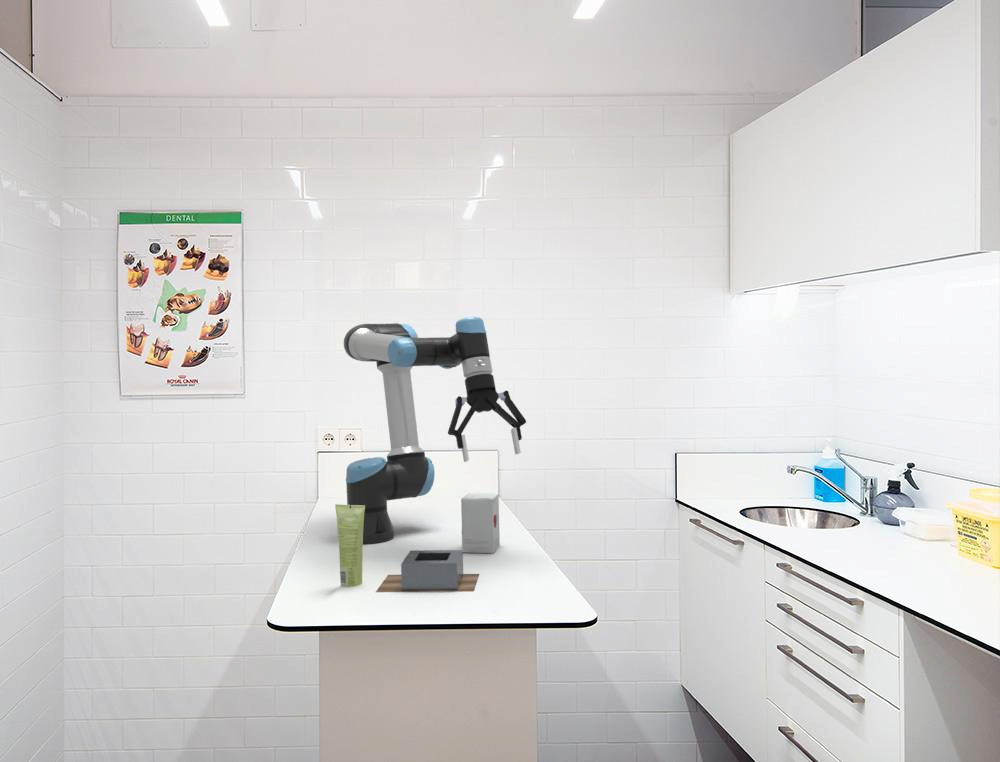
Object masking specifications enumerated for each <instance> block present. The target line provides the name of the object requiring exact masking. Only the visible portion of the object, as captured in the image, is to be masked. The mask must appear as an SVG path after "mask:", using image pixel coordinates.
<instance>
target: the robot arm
mask: <svg viewBox="0 0 1000 762" xmlns="http://www.w3.org/2000/svg"><path fill="white" fill-rule="evenodd" d="M485 327H486V326H485V323H484V320H483V318H481V317H480V316H468V317H464V318H463V317H462V318H461V319H458V320H456V323H455V334H453V335H451V336H450V337H449V336H448V337H444V336H442V337H419V336H418V333H417V332H416V330H415V329H414V328H413V326H411V325H409V324H405V323H397V322H396V323H363V324H357V325H355V326H353V327H352V328H350V329H349V330H348V331H347V332H346V333H345V336H344V339H343V348H344V349H343V350H345V353H346V354H347V356H349V357H350V358H351V359H352V360H356V361H359V362H369V363H370V362H376V369H377V370H378V371H379V372H381V374H382V379H383V380H382V382H383V389H384V398H385V399H384V400H385V408H386V417H387V423H388V424H387V425H388V434H389V443H390V451H389V452H388V453H387V455H386V458H385V457H380V456H379V457H378V456H376V457H368V458H363V459H359V460H356V461H353V462H351V463H349V464H348V465H347V467H346V476H345V484H346V505H365V512H364V526H363V545H366V544H376V543H377V544H378V543H383V542H387V541H390V540H392V539H393V538H395V530H394V526H393V524H392V523H393V522H392V520H391V517H390V515H389V513H388V501H395V500H401V499H410V498H417V497H421V496H422V497H423V496H426V495H427V494H429V492H430V491H431V490H432V487H433V486H434V481H435V466H434V463H433V460H432V459H431V458H430V457H427V456H426V453H425V450H424V449H422V448H421V446H420V445H419V443H420V442H419V436H418V435H419V434H418V426H417V417H416V408H415V401H414V392H413V383H412V374H411V370H412V369H413V367H429V366H430V367H434V366H437V367H441V368H443V369H445V370H449V369H453V368H456V367H458V366H460V365H461V366H462V372H463V377H464V378H465V379H464V384H465V389H466V390H465V391H466V397H464V396H460V395H459V396H457V398H455V408H454V412H453V415H452V418H451V421H450V423H449V424H450V425H449V428H448V431H447V434H448V435H449V436H455V439H456V446H457V449H458V450H460V449H461V452H462V457H463V459H462V460H463V462H464V463H465V462H466V463H467V462H469V461H470V459H469V454H468V453H469V452H468V447H467V441H466V435H465V434H462V433H463V432H464V430H465V429H466V427H467V425H468V424H469V422H470V420H471V418H472V417H473V416H474V413H475V412H476V413H478V414H479V413H480V414H481V413H483V412H491V411H493V412H494V413H496V414H498V415H499V417H500V418H502V419H503V420H504V421H505V422H506V423H507V424H508V425H510V426H511V427H512V428H511V429H510V431H511V432H510V433H511V438H512V444H513V450H514V455H519V454H521V453H522V451H521V446H520V441H521V440H522V437H523V436H522V431H521V427H522V426H524V425H525V424H527V420H526V419H525V416H524V415H523V414H522V412H521V411H520V410H519V409H518V407H517V406H516V404H515V403H514V401H513V400H512V399H511V396H510V393H509V390H504V391H502V392H497V390H496V383H495V377H494V375H493V374H492V373H493V368H492V367H493V365H492V361H491V356H490V354H491V353H490V348H489V344H488V343H489V341H488V337H487V336H488V335H487V331H486V328H485ZM499 399H500V400H501V401H503V402H504V405H505V406H506V407H507V409H508V410H509V411H510V413H511V414H512V415H511V414H510V413H508V411H506V410H505V409H504V408H503V407H502V406H501V405H500V403H498V402H497V401H498V400H499ZM465 403H467V405H468V406H470V408H469V410H468V411H467V413H466V415H465V417H464V418H463V420H462V422H461V423H460V425H459V426H458V428H457V429H456V427H457V424H458V421H459V417H460V415H461V410H462V408H463V406H464V405H465Z"/></svg>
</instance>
